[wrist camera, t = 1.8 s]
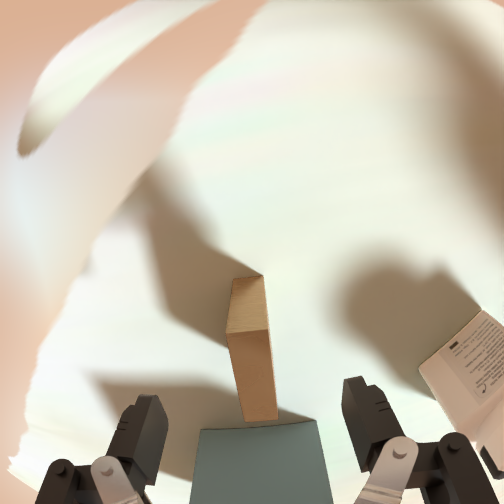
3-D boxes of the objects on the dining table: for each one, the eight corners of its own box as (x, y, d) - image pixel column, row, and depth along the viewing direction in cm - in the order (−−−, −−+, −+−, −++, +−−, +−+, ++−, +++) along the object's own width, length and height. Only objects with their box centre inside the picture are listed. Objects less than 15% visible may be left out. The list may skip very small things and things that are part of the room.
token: (263, 275, 18) (268, 329, 12) (272, 354, 20) (278, 419, 14) (233, 278, 18) (225, 333, 12) (246, 357, 20) (244, 422, 14)
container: (494, 353, 21) (562, 431, 8) (437, 402, 22) (491, 495, 10) (481, 306, 19) (577, 394, 6) (415, 366, 20) (488, 484, 8)
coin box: (316, 420, 22) (336, 516, 12) (312, 485, 26) (322, 551, 17) (200, 429, 22) (186, 524, 13) (229, 492, 26) (225, 558, 17)
